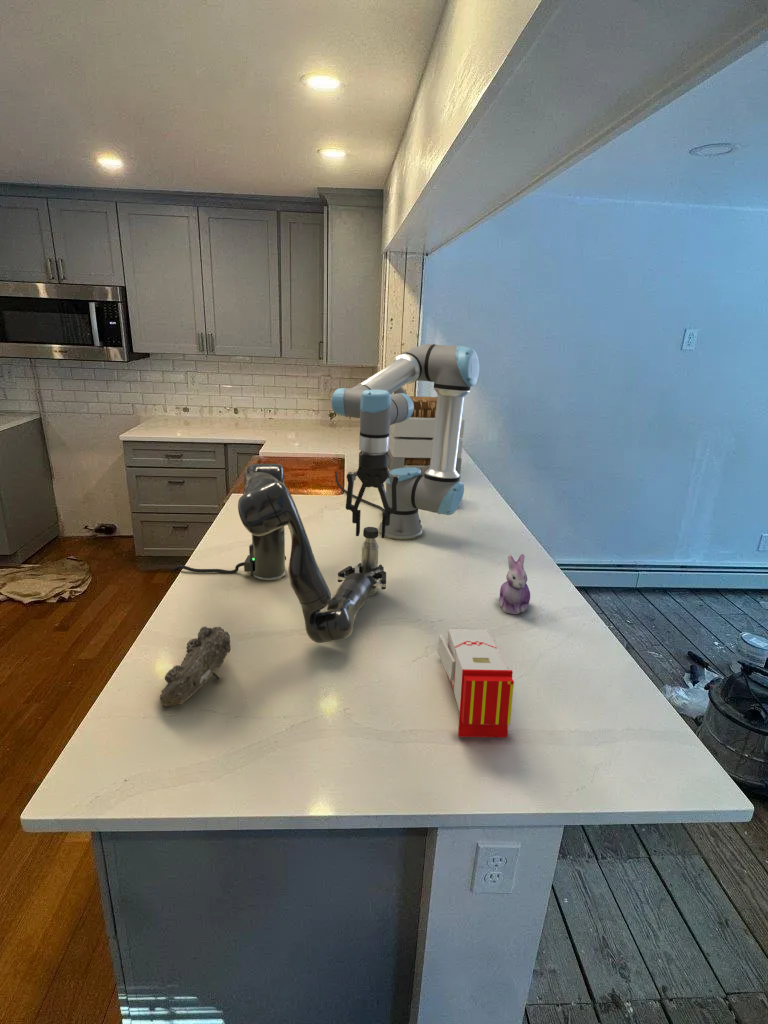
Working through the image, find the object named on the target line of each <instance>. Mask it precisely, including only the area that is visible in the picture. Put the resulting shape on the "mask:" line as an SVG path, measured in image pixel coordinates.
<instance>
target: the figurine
mask: <svg viewBox="0 0 768 1024" xmlns="http://www.w3.org/2000/svg"><path fill="white" fill-rule="evenodd" d="M507 561H508V562H507V563H508V571H507V573H506V576H505V578H506V581H505V582H504V583H503V584H501V586H500V588H499V589H500V590H499V598H498V605H499V607H500V608H501V609H502V611H503V612H504V613H507V614H511V615H518V614H519V613H525V612H526V611H527V609H528V607H529V604H530V601H531V591H530V588H529V585H528V584H527V582H528V575H527V571H526V570H525V568H524V567H525V566H524V563H525V554H524V553H521V554H520V555H519V557H518V558H517V560H515V559H514V557H513V556H512V555H511V554H509V555H508V556H507Z"/></svg>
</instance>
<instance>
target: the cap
mask: <svg viewBox="0 0 768 1024" xmlns="http://www.w3.org/2000/svg"><path fill="white" fill-rule="evenodd" d="M362 536H363V537H364V538H365V539H366V538H369V539H373V538H379V537H378V536H379V528H377V527H375V526H365V527H364V528H363V533H362Z"/></svg>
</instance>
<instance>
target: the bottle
mask: <svg viewBox="0 0 768 1024" xmlns="http://www.w3.org/2000/svg"><path fill="white" fill-rule="evenodd" d="M360 563H361V573H364V574H368V573H369V572H371V571H375V570H376V569H377V568H378V566H379V544H378V542H377V539H376V538H373V539H369V538H365V540H364V542H363V543H362V544H361V562H360ZM376 582H378V581H376ZM377 590H378V587H376V588H374V589H372V591H371V593H370V595H369V596H373V595H375V594H377V592H378V591H377Z"/></svg>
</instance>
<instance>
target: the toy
mask: <svg viewBox="0 0 768 1024" xmlns="http://www.w3.org/2000/svg"><path fill="white" fill-rule="evenodd" d="M446 640H447V643H446V641H445V639H444V636H443V635H442V634H439V637H438V646H437V656H438V657H439V659H440V661H441V663H442V666H443V668H444V670H445V672H446V674H447V677H448V679H449V681H450V684H451V687H452V690H453V693H454V697H455V701H456V705H457V708H458V711H459V714H458V715H459V716H458V730H457V731H458V732H457V737H458V738H508V731H509V726H510V725H511V717H512V707H513V697H514V696H513V695H514V684H515V680H514V679H513V673H514V671H513V670H512V669H508V667H507V665H506V662H505V661H504V659H503V658H502V655H501V653H500V651H499V649H498V647H497V643H496V639H495V637H494V635H493V634H491V632H490V631H489V629H467V628H466V629H465V628H463V629H461V628H460V629H459V628H448V630H447V639H446Z"/></svg>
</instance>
